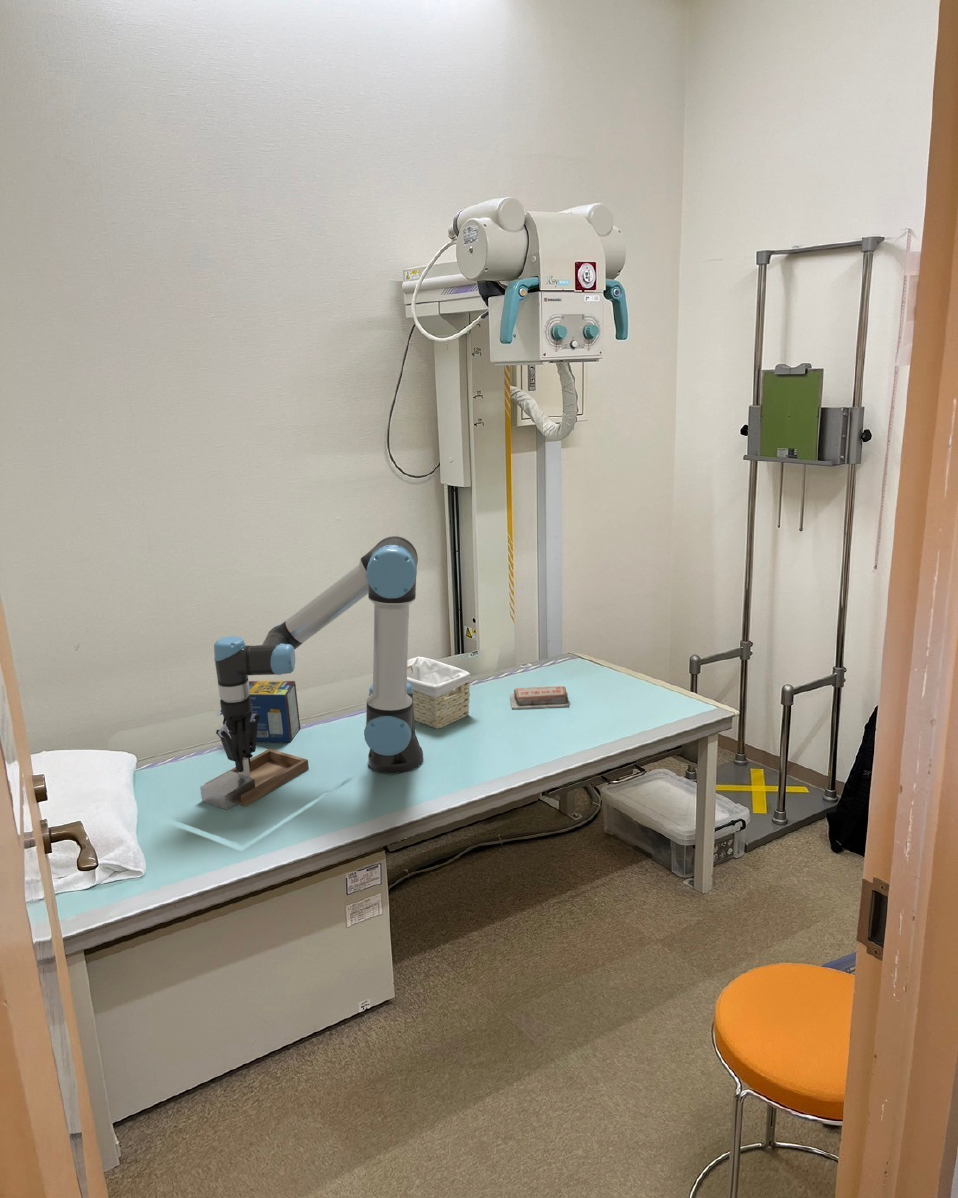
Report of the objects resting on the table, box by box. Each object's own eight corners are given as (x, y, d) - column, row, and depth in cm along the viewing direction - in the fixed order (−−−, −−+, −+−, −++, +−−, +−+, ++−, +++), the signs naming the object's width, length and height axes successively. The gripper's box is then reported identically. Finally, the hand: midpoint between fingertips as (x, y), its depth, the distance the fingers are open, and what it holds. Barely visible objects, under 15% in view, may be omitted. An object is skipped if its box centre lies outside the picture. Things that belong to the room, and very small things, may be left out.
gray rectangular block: (256, 792, 237) (254, 778, 236) (226, 809, 229) (224, 795, 228) (232, 784, 242) (230, 770, 241) (202, 801, 234) (200, 787, 233)
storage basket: (475, 715, 282) (473, 670, 277) (437, 733, 271) (434, 686, 266) (422, 697, 298) (419, 654, 294) (384, 713, 287) (380, 668, 282)
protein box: (251, 728, 279) (246, 680, 275) (300, 728, 278) (296, 680, 273) (239, 743, 269) (233, 694, 265) (290, 743, 268) (285, 694, 263)
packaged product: (565, 682, 293) (569, 694, 283) (565, 696, 294) (569, 708, 285) (509, 684, 293) (510, 696, 283) (509, 698, 294) (511, 711, 285)
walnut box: (309, 773, 249) (307, 759, 248) (245, 811, 230) (244, 796, 229) (270, 761, 257) (269, 748, 255) (206, 797, 238) (204, 783, 237)
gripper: (244, 686, 240) (253, 767, 247) (204, 703, 229) (215, 788, 236) (264, 691, 236) (273, 774, 243) (225, 709, 225) (236, 795, 232)
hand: (245, 780), depth 239 cm, fingers closed
